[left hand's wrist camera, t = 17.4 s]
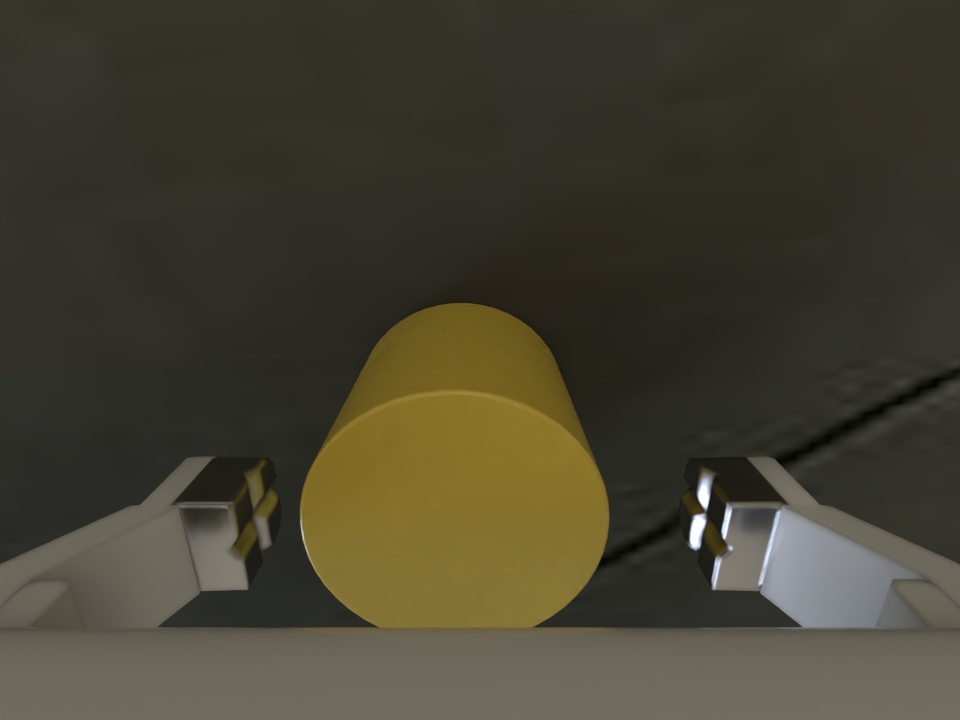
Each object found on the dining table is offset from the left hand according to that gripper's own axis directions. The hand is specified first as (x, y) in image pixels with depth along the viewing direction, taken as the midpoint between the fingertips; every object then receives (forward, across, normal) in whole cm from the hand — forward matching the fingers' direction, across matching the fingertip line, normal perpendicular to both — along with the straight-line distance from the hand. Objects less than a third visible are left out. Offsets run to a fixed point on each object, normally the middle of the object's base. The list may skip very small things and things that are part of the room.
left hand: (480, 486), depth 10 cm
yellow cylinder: (+3, 0, -1) cm, 3 cm away
